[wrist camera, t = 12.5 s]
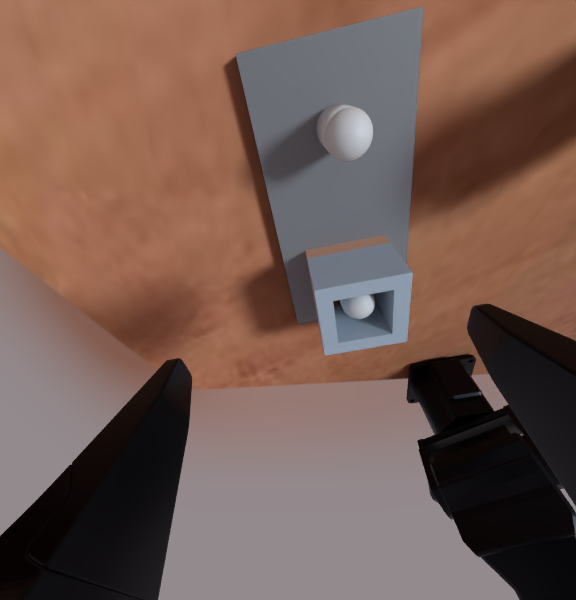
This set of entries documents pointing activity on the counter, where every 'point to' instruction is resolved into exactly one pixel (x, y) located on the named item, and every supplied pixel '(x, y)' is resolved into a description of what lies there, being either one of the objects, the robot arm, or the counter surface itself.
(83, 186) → the counter surface
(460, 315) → the counter surface
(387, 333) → the sleeve
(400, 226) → the pin board
